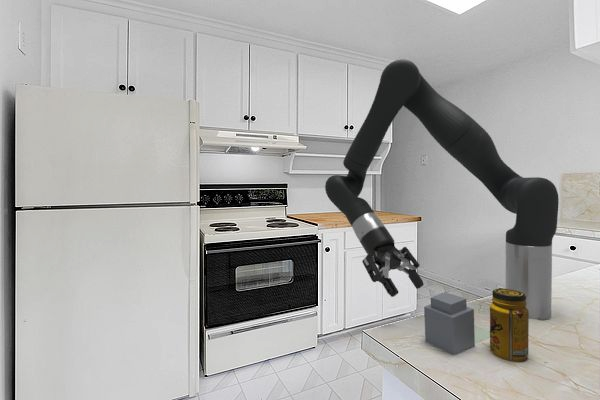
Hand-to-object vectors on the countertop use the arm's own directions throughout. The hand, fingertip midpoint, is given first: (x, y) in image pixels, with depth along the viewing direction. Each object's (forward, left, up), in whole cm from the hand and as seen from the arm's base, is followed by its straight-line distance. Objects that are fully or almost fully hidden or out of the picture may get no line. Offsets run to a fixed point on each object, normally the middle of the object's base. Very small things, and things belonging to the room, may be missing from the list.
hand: (408, 290), depth 73 cm
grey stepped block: (+5, +10, -8) cm, 14 cm away
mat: (-3, +10, -8) cm, 13 cm away
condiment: (+1, +20, -8) cm, 22 cm away
